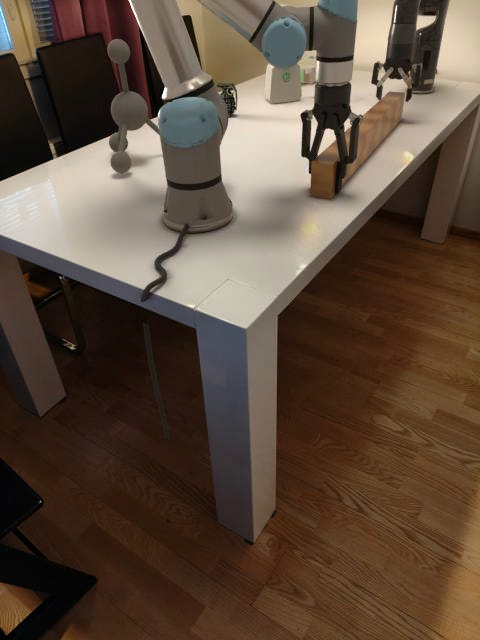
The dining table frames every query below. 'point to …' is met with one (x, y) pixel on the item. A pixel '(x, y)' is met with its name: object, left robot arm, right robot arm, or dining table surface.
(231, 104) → the grenade
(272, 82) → the electronic device
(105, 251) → the dining table surface
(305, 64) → the decorative block
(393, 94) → the beam
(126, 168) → the molecular model
